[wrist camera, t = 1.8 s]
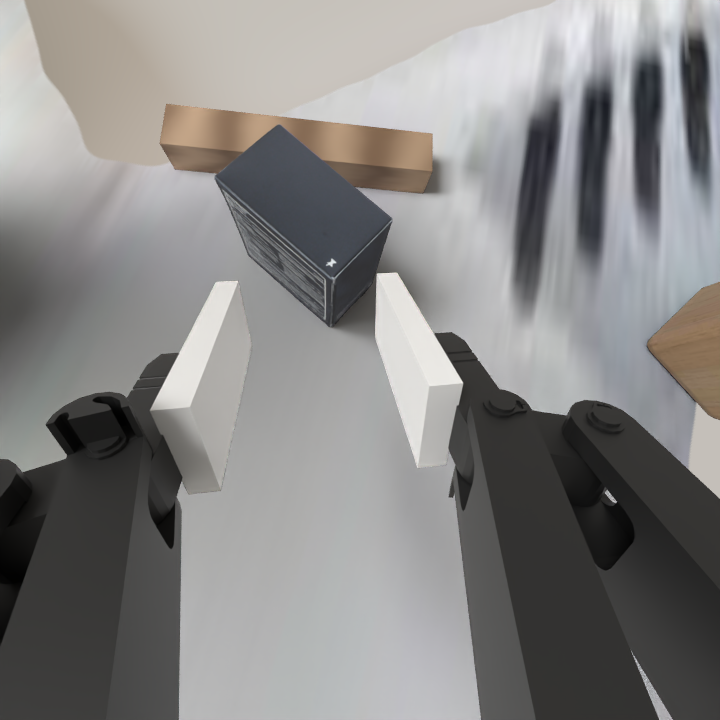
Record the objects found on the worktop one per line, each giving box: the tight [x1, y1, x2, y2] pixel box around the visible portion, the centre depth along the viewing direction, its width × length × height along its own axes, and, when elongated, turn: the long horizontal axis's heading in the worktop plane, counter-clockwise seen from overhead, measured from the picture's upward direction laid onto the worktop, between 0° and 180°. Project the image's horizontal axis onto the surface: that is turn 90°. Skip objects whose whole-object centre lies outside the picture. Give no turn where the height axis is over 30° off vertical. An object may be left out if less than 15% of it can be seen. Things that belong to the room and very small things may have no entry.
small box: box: [215, 124, 393, 327], centre depth 28 cm, size 11×6×10 cm, turn 49°
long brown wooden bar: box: [160, 104, 432, 193], centre depth 33 cm, size 24×4×4 cm, turn 88°
